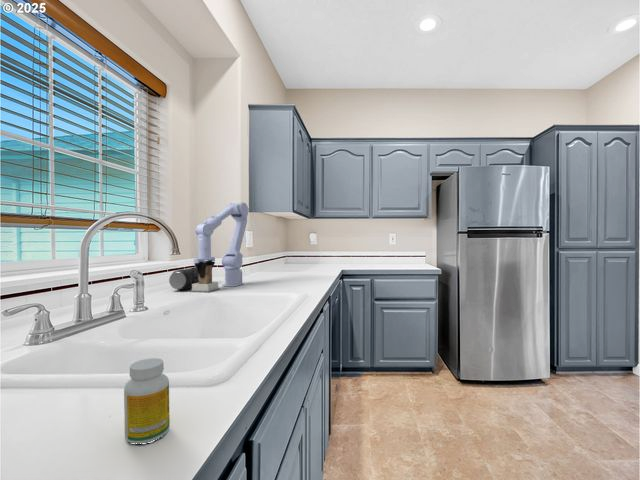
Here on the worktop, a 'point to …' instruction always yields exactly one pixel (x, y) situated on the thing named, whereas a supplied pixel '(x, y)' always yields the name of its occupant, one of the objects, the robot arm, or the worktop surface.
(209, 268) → the walnut plug
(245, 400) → the worktop surface
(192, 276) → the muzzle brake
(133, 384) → the supplement bottle
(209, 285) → the socket block
